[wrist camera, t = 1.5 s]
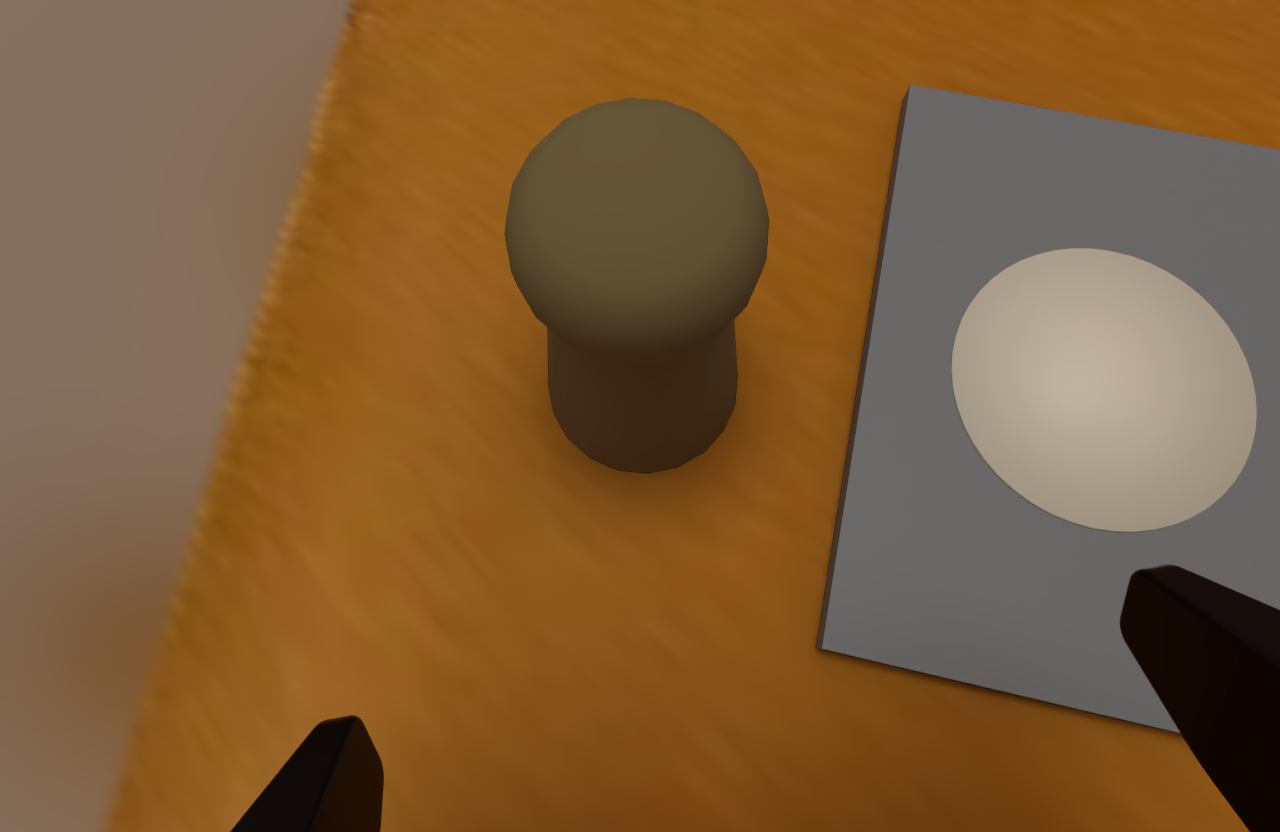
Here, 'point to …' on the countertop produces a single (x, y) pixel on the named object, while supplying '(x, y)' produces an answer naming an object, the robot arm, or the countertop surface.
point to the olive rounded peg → (638, 275)
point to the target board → (1057, 397)
